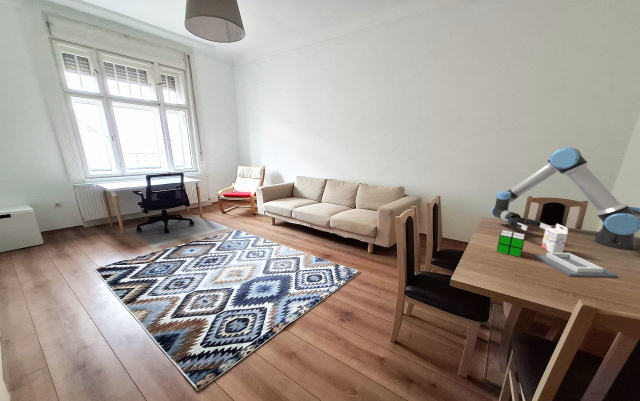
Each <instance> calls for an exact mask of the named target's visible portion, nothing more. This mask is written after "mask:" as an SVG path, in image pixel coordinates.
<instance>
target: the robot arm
mask: <svg viewBox="0 0 640 401" xmlns="http://www.w3.org/2000/svg"><path fill="white" fill-rule="evenodd" d="M581 153H582V152H581V151H579V149H577V148H574V147H561V148H559V149H556V150H555V151H553V152H552V154H550V157H549V159H548V160H547V161H546V164H544V165H543V166H542V167H540V168H538V169H537V170H535V171H534V172H533V173H531V174H530V175H528V176H527V177H526V178H524V179H523V180H521V181H520V182H519V183H517V184H516V185H514V186H513V187H511V188H510V189H508V190H507V191H505V190H500V191H497V195H496V198H495V199H496V200H495V206H493V207H491V209H490V212H489V213H490V215H492V216H493V217H495V218H496V219H499V220H502V221H504V222H505V223H508V225H509V226H510V227H512V226H513V228H518V229H521V230H523V231H526V232H527V231H528V228H529V227H528V225H530V226H535V227H539V228H541V229H543V230H545V229H546V228H553V226H551V225H548V224H546V222H544V221H540V220H535V219H532V218H527V217H526V218H524V217H521V215H520V213H519V214H518V213H516V212H514V211H511V210H509V206H510V203H512V202H514V201H515V200H516V199H518V198H519V197H521V196H522V195H524V194H526V193H527V192H529V191H531V190H532V189H533V188H535V187H537V186H538V185H539V184H541V183H542V182H544V181H546V180H547V179H549V178H550V177H552V176H553V175H554V174H556V173H558V172H559V173H560V174H561V175H563V176H567V177H568V179H570V180H571V182H572V183H573V184H574V185H575V186H576V188H578V189H579V191H580V192H581V193H582V194H583V195H584V197H585V198H586V199H587V200H588V201H589V202H590V204H592V205H593V207H594V208H595V209H596V210H597V211H596V212H597V213H596V216H597V217H598V218H599V219H600V220H601V221H602V226H601V229H599V231H598V232H597V233H596V234H595V235H594V237H593V241H594V242H596V243H597V244H601V245H603V246H606V247H612V248H616V249H621V250H635V249H636V246H637V244H636V237H635V233H637V232H639V231H640V207H633V206H629V205H628V204H624V203H621V202H620V201H619V200H618V199H617V198H616V196H614V195H613V193H611V192H610V190H608V188H607V187H606V186H605V185H604V184H603V183H602V182H601V181H600V179H598V177H597V176H596V175H595V174H594V173H593V172H592V171H591V170H590V169H589V167H588V164H589V162H588V161H587V160H586V159H585V157H583V156H582V154H581Z"/></svg>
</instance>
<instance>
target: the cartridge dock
mask: <svg viewBox="0 0 640 401" xmlns="http://www.w3.org/2000/svg"><path fill="white" fill-rule="evenodd" d="M533 257H534V258H535V259H537V260H539V261H540V262H542V263H544V264H546V265H548V266H550V267H552V268H553V269H555V270H557V271H559V272H561V273H562V274H564V275H567V277H586V278H587V277H590V278H591V277H593V278H594V277H596V278H597V277H598V278H599V277H601V278H617V277H618V274H617V273H615V272H612V271H609V270H608V269H605V268H603V267H601V266H599V265H598V264H595V263H592V262H590V261H588V260H586V259H584V258H582V257H579V256H577V255H575V254H573V253H571V252H563V253H551V252H546V254H533Z"/></svg>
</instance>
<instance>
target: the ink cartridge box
mask: <svg viewBox="0 0 640 401" xmlns="http://www.w3.org/2000/svg"><path fill="white" fill-rule="evenodd" d="M568 232H569V228H568V227H566V226H564V225H561V224H559V223H556V224H555V227H552V228H546V229H544V234H543V238H542V243H541V247H540V248H542V249H544V250H546V251H548V253H564V248H565V247H566V246H565V245H566V241H567V239H568V235H569V234H568Z"/></svg>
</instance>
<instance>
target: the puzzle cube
mask: <svg viewBox="0 0 640 401" xmlns="http://www.w3.org/2000/svg"><path fill="white" fill-rule="evenodd" d="M525 238H526V234H525V233H519V232H516V231H514V232H513V231H509V230H505V229H502V230H501V231H500V234H499V238H498V242H497V248H496V252H497V253H501V254H506V255H510V256H513V257H518V258H521V257H522V254H523V253H522V252H523V248H524V243H525V240H526V239H525Z"/></svg>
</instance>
